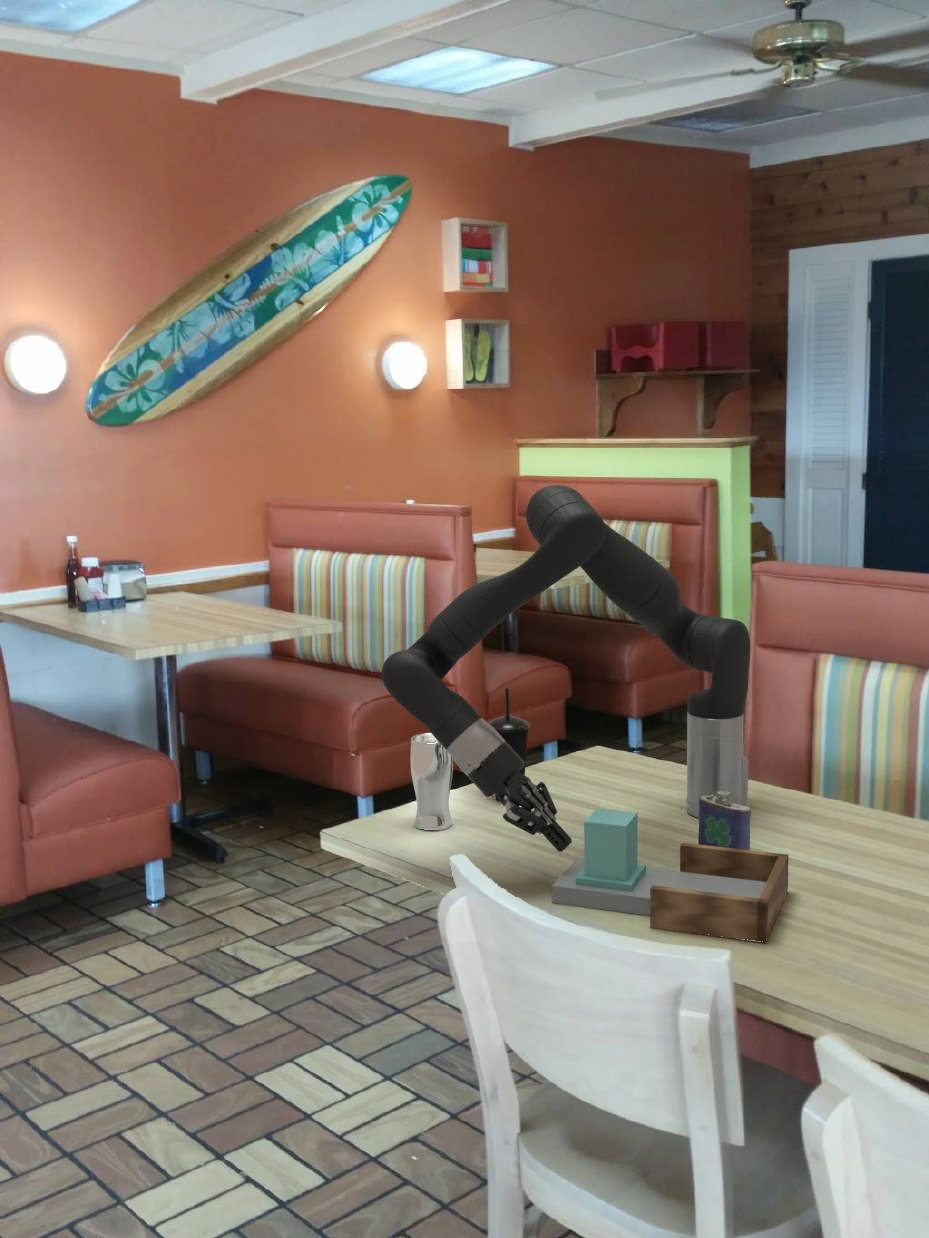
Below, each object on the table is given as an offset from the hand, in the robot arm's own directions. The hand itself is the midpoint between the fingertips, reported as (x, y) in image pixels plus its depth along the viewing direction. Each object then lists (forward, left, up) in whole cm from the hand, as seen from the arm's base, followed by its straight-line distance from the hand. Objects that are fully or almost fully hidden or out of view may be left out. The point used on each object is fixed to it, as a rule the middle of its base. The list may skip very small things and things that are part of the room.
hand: (566, 846), depth 184 cm
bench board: (-10, +10, -6) cm, 15 cm away
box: (-15, +15, -6) cm, 23 cm away
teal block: (-5, +5, -4) cm, 8 cm away
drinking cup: (-10, -41, -7) cm, 43 cm away
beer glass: (+7, -34, -7) cm, 36 cm away
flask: (-27, 0, -7) cm, 28 cm away
